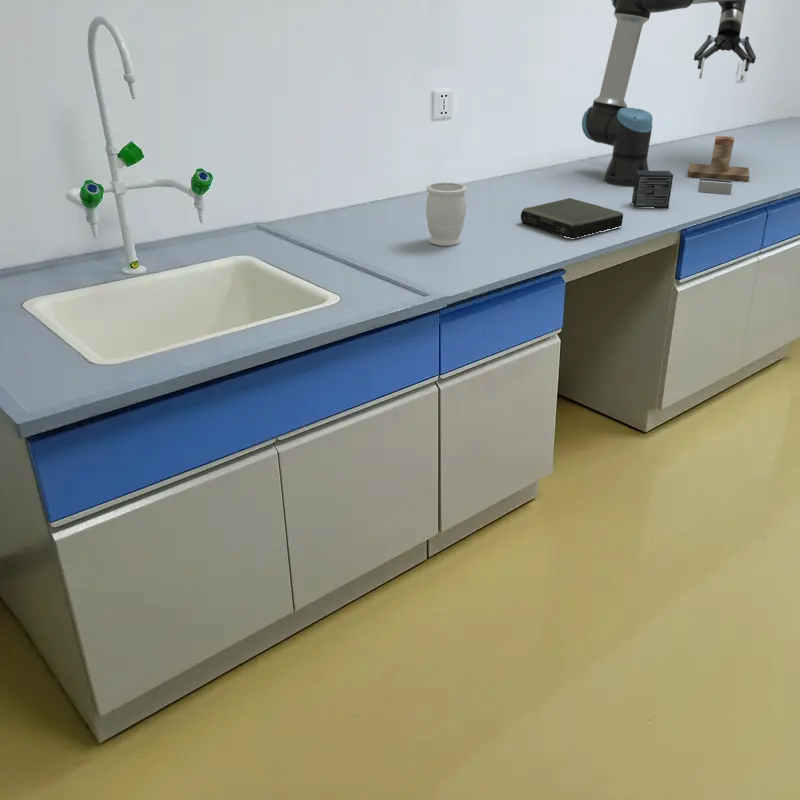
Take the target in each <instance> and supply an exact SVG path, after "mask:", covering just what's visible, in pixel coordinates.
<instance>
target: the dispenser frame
mask: <svg viewBox="0 0 800 800" xmlns="http://www.w3.org/2000/svg"><path fill="white" fill-rule="evenodd" d="M732 188H733V181H732V180H722V179H709V178H699V184H698V192H699V193H709V194H710V193H711V194H722V195H731V192H732Z"/></svg>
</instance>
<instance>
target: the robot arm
mask: <svg viewBox="0 0 800 800" xmlns="http://www.w3.org/2000/svg"><path fill="white" fill-rule="evenodd" d="M610 2H611V4H612V7H613V8H614V12H613V15H614V18H615V19H616V22H615V23H616V24H615V29H614V33H613V36H612V40H611V41H612V42H611V44H610V45H611V46H610V50H609V53H608V54H609V55H608V58H607V63H606V67H605V71H604V76H603V79H602V83H601V88H600V90H599V91H600V92H599V95H598V96H597V97H596V98H595V99H593V102H592V106H590V107H588V108H587V110H585V112H584V113H583V116H582V120H581V128H582V132H583V134H584V136H585V137H586V138H587V139H588V140H590V141H592V142H594V143H597V144H604V145H608V146H612V147H613V149H612V155H611V159H610V162H609V164H608V165H607V168H606V171H605V172H604V176H603V177H604V182H607V183H608V184H612V185H616V186H622V187H623V186H625V187H634V181H635V173H636V170H643V171H650V170H649V164H648V156H649V155H648V154H649V148H650V142H651V138H652V137H651V136H652V130H653V115H652V114H651V113H650V112H648V111H647V110H644V109H641V108H635V107H628V104H627V103H626V102H625V97H626V95H627V91H628V90H627V89H628V86H629V83H630V77H631V73H632V69H633V65H634V62H635V58H636V54H637V50H638V45H639V41H640V39H641V38H640V37H641V34H642V29H643V26H644V25H645V23H646V22H648V21H650V20H649V19H650V17H651V13H652V14H655V13H663V12H669V11H674V10H680V9H682V10H683V9H687V8H689V7H690V6H691V5H697V4H707V3H709V4H710V3H717V4H718V5H719V6H720V8H721V11H720V17H719V24H718V30H717V34H716V37H714V36H712V34H708V35H707V38H706V40H705V41H704V42H703V43H702V45H701V46H699V48H698V49H697V51H695V53H694V57H693V60H694V61H698V63H697V69H698V70H700V72H699V77H698V79H702V77H703V71H704V66H705V61H706V60H707V59H708V58H709V57H710V56H712V55H713V54H714V53H717V52H718V51H720V50H721V51H729V52H731V51H733V53H735V54H736V56H738V57H739V58H740V60H741V61H742V68H741V74H740V79H739V80H740V81H741V82H742V81H744V80H743V79H744V76H745V72H748V71H749V67H750V64H755V61H756V59H757V56H756V54H755V52H754V50H753V48H752V46H751V44H750V37H749V36H745V38H743V37H742V38H741V37H740V36H741V30H742V24H743V18H744V12H745V6H746V3H747V0H610ZM712 43H714V44H713V45H712ZM740 44H741V45H742V47H743V48H744V49H743V48H742V47H741V46H740ZM710 45H712V46H711V47H709V46H710ZM707 48H708V49H707Z"/></svg>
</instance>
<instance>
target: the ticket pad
mask: <svg viewBox="0 0 800 800" xmlns="http://www.w3.org/2000/svg"><path fill="white" fill-rule="evenodd" d="M734 143H735V137H734V136H720V135H716V136H715V138H714V146H713V150H712V155H711V162H710V165H711V166H710V171H722V172H728V169H729V166H730V163H731V158H732V151H733V148H734Z"/></svg>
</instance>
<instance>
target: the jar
mask: <svg viewBox="0 0 800 800" xmlns="http://www.w3.org/2000/svg"><path fill="white" fill-rule="evenodd" d="M467 189H468V188H467V186H466V185H464V184H461V183H455V182H438V183H437V182H436V183H435V182H434V183H431V184H428V185H427V186H426V191H427V193H428V194H427V197H426V205H425V214H426V221H427V229H428V232H429V234H430V235H431V236H430V238H429V242H430V243H431V244H433V245H436V246H441V247H450V246H451V247H452V246H456V245H458V244H460V243H461V238H460V236H461V233H462V231H463V228H464V223H465V217H466V212H467V202H466V195H465V193H466V192H467Z"/></svg>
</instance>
